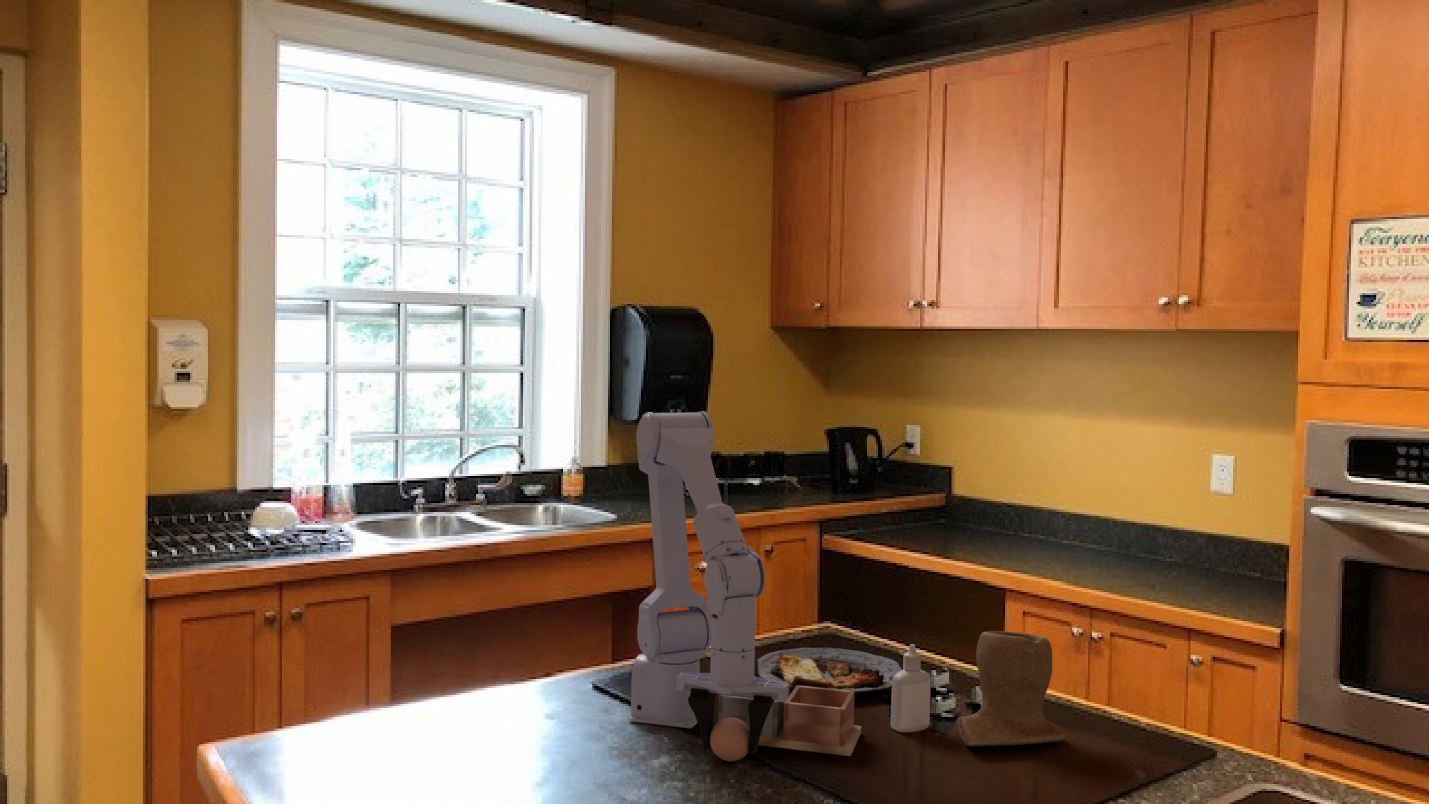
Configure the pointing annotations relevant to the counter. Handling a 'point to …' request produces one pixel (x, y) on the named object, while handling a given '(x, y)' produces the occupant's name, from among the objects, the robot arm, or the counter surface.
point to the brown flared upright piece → (1011, 692)
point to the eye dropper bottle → (910, 695)
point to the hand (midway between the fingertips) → (730, 749)
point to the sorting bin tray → (803, 720)
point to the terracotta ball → (730, 739)
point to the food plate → (804, 671)
